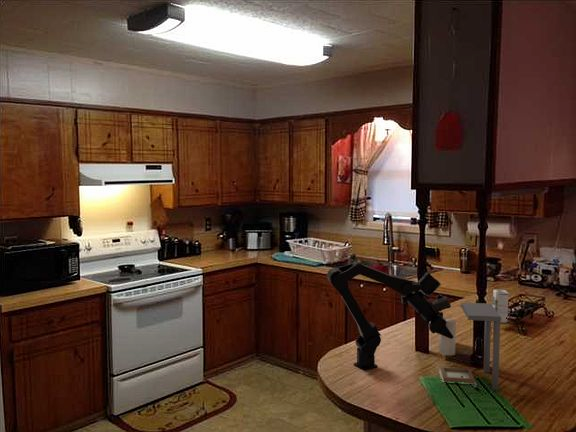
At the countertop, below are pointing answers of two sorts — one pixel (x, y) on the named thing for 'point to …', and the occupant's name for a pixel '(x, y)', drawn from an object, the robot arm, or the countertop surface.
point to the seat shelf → (485, 314)
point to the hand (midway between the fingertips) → (451, 335)
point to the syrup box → (501, 303)
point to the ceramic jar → (448, 339)
